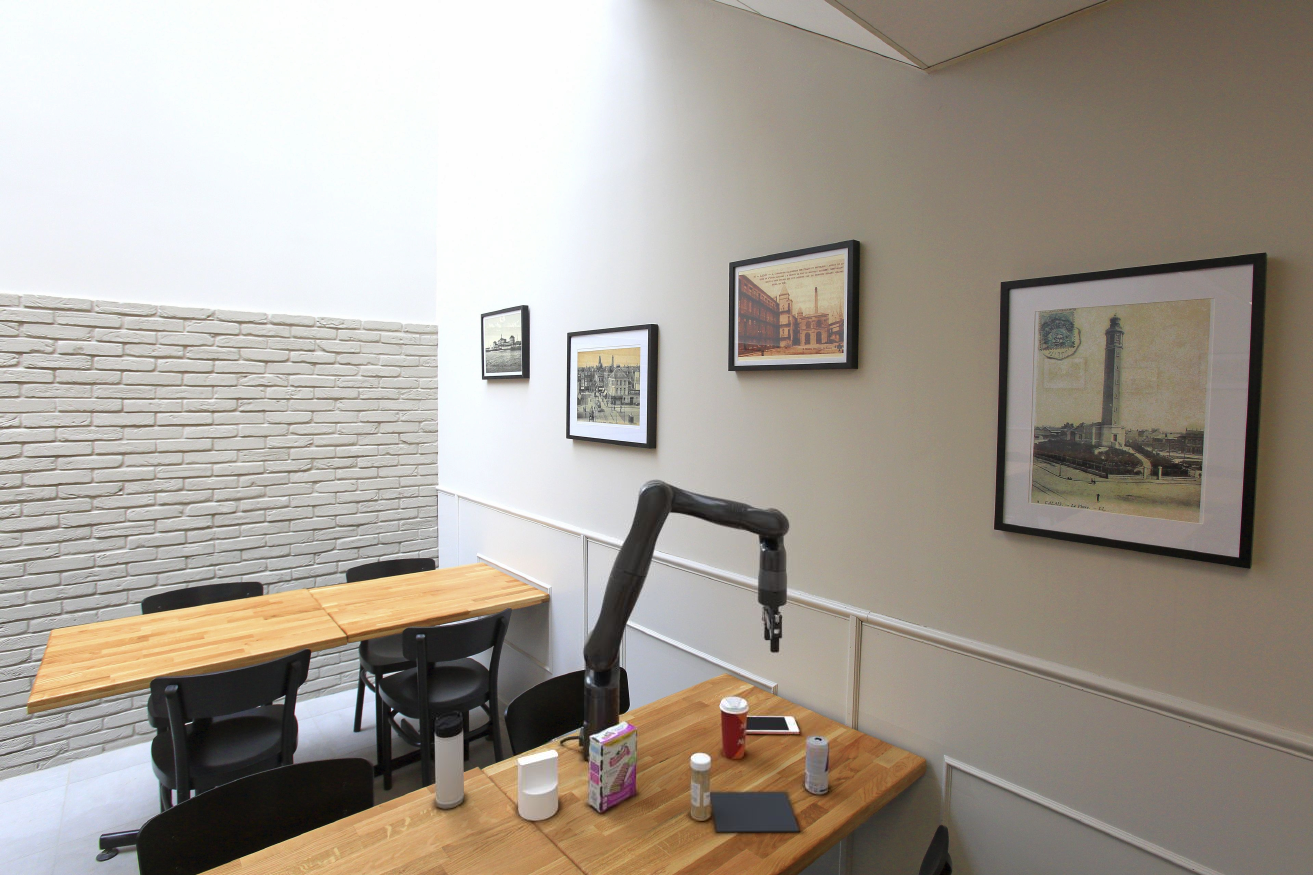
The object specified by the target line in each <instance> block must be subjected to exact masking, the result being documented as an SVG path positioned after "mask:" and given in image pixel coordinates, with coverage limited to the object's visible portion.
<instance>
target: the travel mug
mask: <svg viewBox="0 0 1313 875" xmlns="http://www.w3.org/2000/svg"><path fill="white" fill-rule="evenodd" d="M464 768H465V767H464V716H463V714H462V712H461V711H457V710H453V711H452V712H451V711H450V712H447V713H444V714H441V715H440V716H438V717H437V718H436V719H435V721H434V771H435V774H434V775H435V805H436V807H438V808H439V809H443V810H449V809H453V808H455V807H458V806H460V804H462V803H463V801H464V800H465V794H464V793H465V783H464V782H465V780H464V779H465V778H464V777H465V775H464V771H465V770H464Z"/></svg>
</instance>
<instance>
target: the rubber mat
mask: <svg viewBox="0 0 1313 875" xmlns="http://www.w3.org/2000/svg"><path fill="white" fill-rule="evenodd" d="M710 803H711V808H712V814H713V821H714V826H715V832H716V833H717V834H719V833H720V834H722V833H723V834H729V833H730V834H731V833H733V834H735V833H737V834H738V833H739V834H740V833H745V834H746V833H747V834H748V833H749V834H750V833H800V829H799V826H798V823H797V821H796V818H795V815H794V812H793V810H792V806H791V804H790V801H789V798H788V796H787V793H786V791H765V792H764V791H763V792H762V791H761V792H759V791H757V792H755V791H752V792H751V791H750V792H749V791H747V792H745V791H744V792H741V791H739V792H736V791H735V792H731V791H729V792H728V791H727V792H726V791H725V792H710Z"/></svg>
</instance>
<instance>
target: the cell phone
mask: <svg viewBox="0 0 1313 875" xmlns="http://www.w3.org/2000/svg"><path fill="white" fill-rule="evenodd" d="M748 734H752V735H755V734H756V735H757V734H761V735H799V734H800V729H799V727H798V724H797V722H796V720H795V717H794V716H784V715H783V716H782V715H777V716H776V715H747V723H746V735H748Z"/></svg>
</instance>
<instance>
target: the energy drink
mask: <svg viewBox="0 0 1313 875" xmlns="http://www.w3.org/2000/svg"><path fill="white" fill-rule="evenodd" d="M829 757H830V744H829V740H828V739H827V738H826V737H825V736H822V735H818V734H812V735H809V736H807V738H806V741H805V772H804V774H805V778H804V781H805V782H804V786H805V789H806V790H807V791H808V792H809V793H811V794H813V795H824V794H826V793H827V792H828V791H829V765H830V764H829V763H830V762H829V761H830V758H829Z"/></svg>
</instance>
